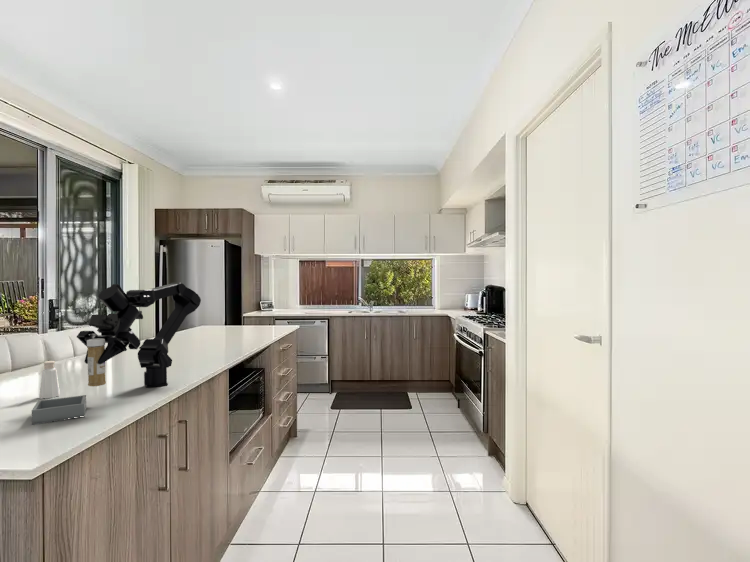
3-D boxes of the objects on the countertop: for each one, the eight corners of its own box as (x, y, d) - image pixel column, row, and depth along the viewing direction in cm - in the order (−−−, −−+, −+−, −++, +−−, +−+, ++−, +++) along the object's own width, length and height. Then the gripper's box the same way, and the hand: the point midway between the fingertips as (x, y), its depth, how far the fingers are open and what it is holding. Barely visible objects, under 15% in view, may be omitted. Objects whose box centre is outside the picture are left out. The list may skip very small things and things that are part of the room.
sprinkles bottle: (106, 385, 128) (105, 339, 128) (87, 387, 126) (86, 340, 126) (105, 382, 132) (104, 337, 132) (87, 384, 130) (86, 338, 130)
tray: (86, 407, 126) (86, 394, 126) (84, 417, 116) (84, 403, 116) (38, 413, 120) (37, 400, 120) (31, 424, 110) (31, 410, 110)
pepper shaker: (57, 393, 142) (56, 359, 142) (62, 396, 139) (62, 361, 139) (36, 397, 138) (36, 361, 138) (41, 399, 135) (41, 363, 135)
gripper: (81, 304, 135) (47, 345, 124) (132, 304, 131) (101, 347, 120) (103, 327, 143) (73, 368, 132) (152, 327, 138) (125, 370, 128)
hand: (92, 363), depth 128 cm, fingers closed on sprinkles bottle, 4 cm apart
